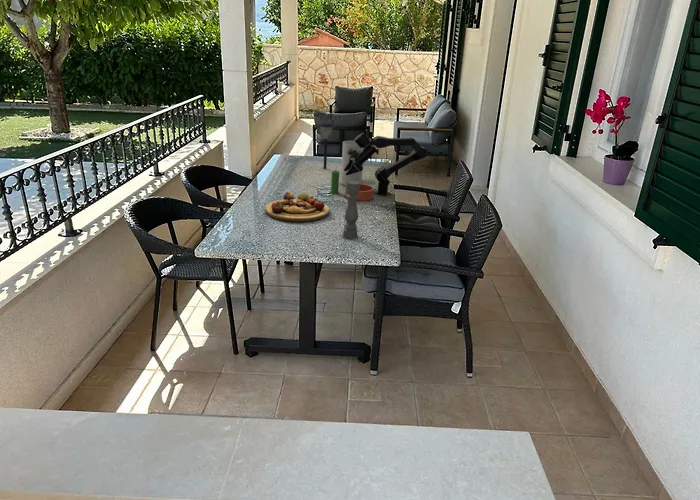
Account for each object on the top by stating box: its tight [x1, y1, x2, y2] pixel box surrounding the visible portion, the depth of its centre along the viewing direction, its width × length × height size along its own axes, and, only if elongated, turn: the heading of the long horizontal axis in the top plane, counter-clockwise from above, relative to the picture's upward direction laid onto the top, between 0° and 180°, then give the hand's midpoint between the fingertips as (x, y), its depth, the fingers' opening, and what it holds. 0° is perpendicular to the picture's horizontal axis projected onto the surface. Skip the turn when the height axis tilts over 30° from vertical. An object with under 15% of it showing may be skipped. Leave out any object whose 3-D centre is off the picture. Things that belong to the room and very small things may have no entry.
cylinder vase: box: [340, 140, 364, 187], centre depth 302 cm, size 12×12×25 cm
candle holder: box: [342, 181, 360, 240], centre depth 222 cm, size 6×6×25 cm
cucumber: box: [330, 169, 340, 195], centre depth 285 cm, size 4×4×13 cm
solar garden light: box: [316, 121, 336, 170], centre depth 332 cm, size 12×12×30 cm
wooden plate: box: [264, 190, 330, 222], centre depth 252 cm, size 32×32×8 cm
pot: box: [344, 183, 375, 202], centre depth 282 cm, size 16×16×6 cm
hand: (345, 172), depth 284 cm, fingers open, 9 cm apart
